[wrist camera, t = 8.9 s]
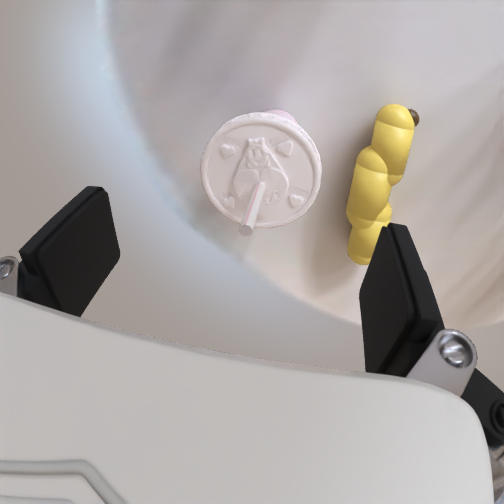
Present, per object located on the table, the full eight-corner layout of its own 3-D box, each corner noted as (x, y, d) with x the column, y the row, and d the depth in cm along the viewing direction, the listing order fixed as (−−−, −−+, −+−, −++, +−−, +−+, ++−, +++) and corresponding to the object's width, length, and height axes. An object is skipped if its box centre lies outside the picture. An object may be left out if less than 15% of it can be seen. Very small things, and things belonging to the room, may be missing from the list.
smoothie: (240, 170, 26) (186, 279, 15) (230, 96, 22) (151, 148, 11) (318, 168, 25) (324, 281, 14) (314, 90, 21) (325, 135, 10)
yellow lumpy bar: (363, 94, 21) (372, 100, 18) (414, 106, 20) (427, 114, 18) (333, 247, 29) (335, 269, 27) (375, 254, 29) (380, 275, 26)
